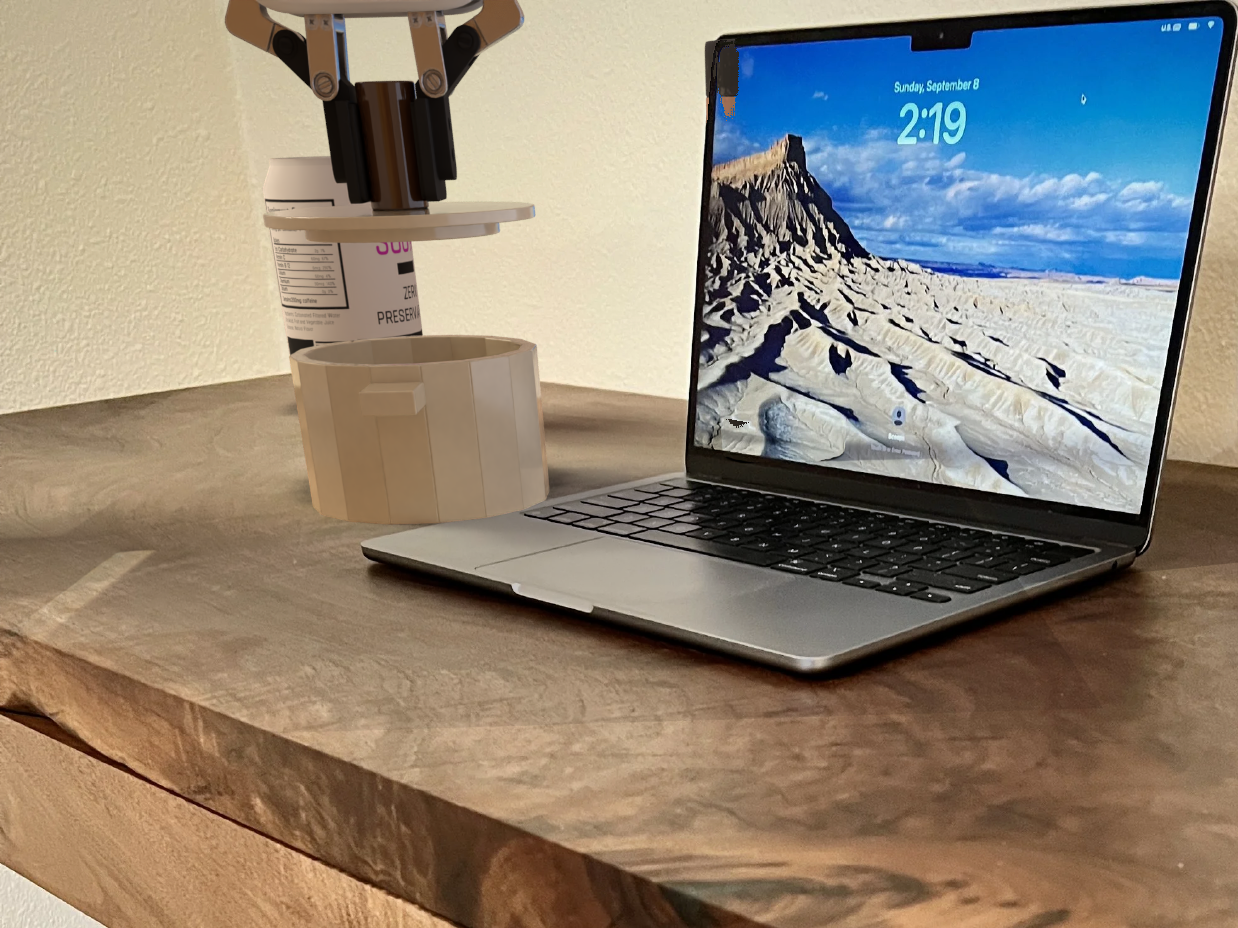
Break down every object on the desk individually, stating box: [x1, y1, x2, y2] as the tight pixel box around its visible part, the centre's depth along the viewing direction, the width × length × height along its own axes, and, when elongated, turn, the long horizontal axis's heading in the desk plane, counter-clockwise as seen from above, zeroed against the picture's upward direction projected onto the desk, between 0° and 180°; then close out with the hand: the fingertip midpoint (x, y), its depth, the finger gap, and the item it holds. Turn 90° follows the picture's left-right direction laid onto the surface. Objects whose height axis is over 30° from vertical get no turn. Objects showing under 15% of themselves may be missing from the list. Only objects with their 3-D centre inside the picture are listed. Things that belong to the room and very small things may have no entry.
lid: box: [262, 80, 536, 243], centre depth 73 cm, size 12×12×6 cm
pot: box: [288, 334, 550, 525], centre depth 78 cm, size 11×17×7 cm
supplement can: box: [261, 155, 424, 357], centre depth 99 cm, size 8×8×15 cm
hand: (398, 196), depth 73 cm, fingers closed on lid, 2 cm apart
